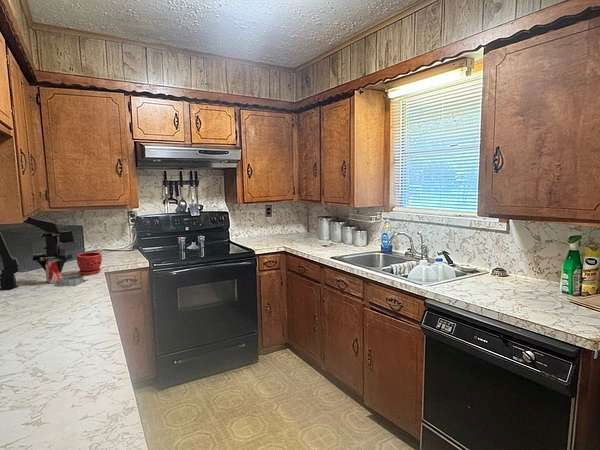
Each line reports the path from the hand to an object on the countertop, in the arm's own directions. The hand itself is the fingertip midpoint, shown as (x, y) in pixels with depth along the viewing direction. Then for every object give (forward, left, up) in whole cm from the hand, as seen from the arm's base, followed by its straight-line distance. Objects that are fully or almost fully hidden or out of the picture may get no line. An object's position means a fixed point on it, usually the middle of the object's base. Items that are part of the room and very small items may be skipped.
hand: (53, 272), depth 202 cm
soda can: (0, 0, -6) cm, 6 cm away
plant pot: (+20, -9, -6) cm, 22 cm away
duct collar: (-2, -11, -6) cm, 12 cm away
